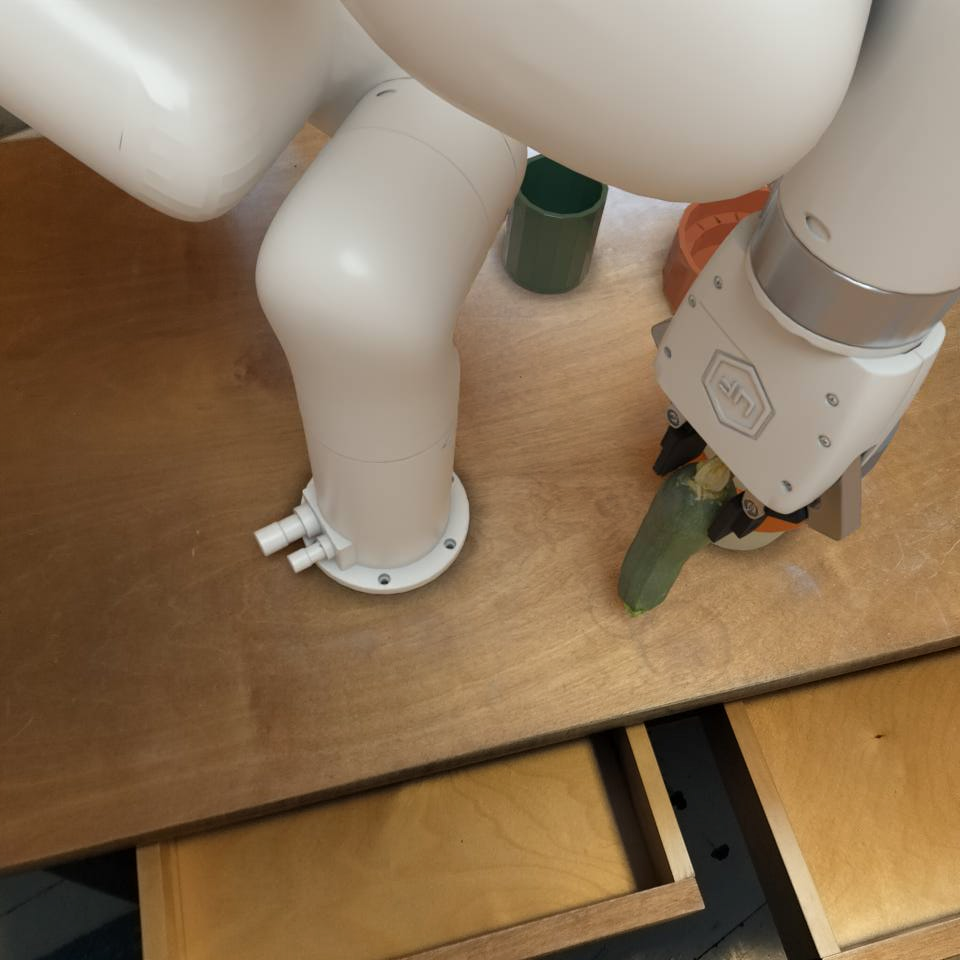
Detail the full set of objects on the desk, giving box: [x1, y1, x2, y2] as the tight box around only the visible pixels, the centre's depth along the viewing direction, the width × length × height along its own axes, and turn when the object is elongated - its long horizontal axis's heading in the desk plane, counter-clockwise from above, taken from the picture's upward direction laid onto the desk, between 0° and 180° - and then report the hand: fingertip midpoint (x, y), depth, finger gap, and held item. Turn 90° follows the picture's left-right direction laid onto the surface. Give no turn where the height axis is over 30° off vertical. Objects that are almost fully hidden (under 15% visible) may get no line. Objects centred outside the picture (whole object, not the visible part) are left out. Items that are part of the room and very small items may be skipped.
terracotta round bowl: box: [661, 186, 770, 312], centre depth 76 cm, size 15×15×6 cm
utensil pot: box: [502, 153, 609, 295], centre depth 75 cm, size 8×8×9 cm
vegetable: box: [617, 455, 738, 619], centre depth 51 cm, size 4×4×20 cm
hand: (703, 492), depth 47 cm, fingers closed on vegetable, 4 cm apart
